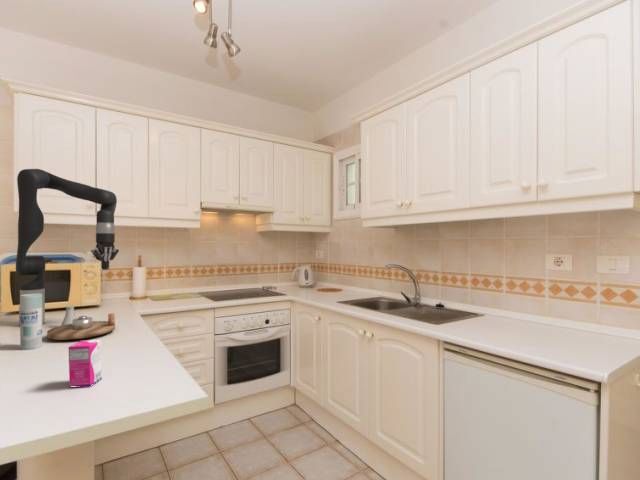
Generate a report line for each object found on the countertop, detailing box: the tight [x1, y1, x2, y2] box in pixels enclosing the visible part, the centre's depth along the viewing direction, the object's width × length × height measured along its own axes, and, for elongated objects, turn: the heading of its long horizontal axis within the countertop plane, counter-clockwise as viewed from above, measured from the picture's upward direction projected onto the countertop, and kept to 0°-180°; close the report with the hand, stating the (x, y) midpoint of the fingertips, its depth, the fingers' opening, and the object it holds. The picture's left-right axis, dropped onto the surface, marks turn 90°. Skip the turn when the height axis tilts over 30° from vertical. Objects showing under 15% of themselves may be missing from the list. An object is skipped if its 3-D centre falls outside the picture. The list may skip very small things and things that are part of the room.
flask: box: [60, 305, 77, 326], centre depth 160 cm, size 7×7×10 cm
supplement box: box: [68, 339, 103, 387], centre depth 96 cm, size 6×6×12 cm
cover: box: [73, 315, 93, 330], centre depth 147 cm, size 7×7×5 cm
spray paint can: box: [19, 293, 43, 351], centre depth 130 cm, size 6×6×20 cm
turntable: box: [46, 313, 116, 341], centre depth 147 cm, size 24×24×7 cm
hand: (105, 269), depth 161 cm, fingers closed
